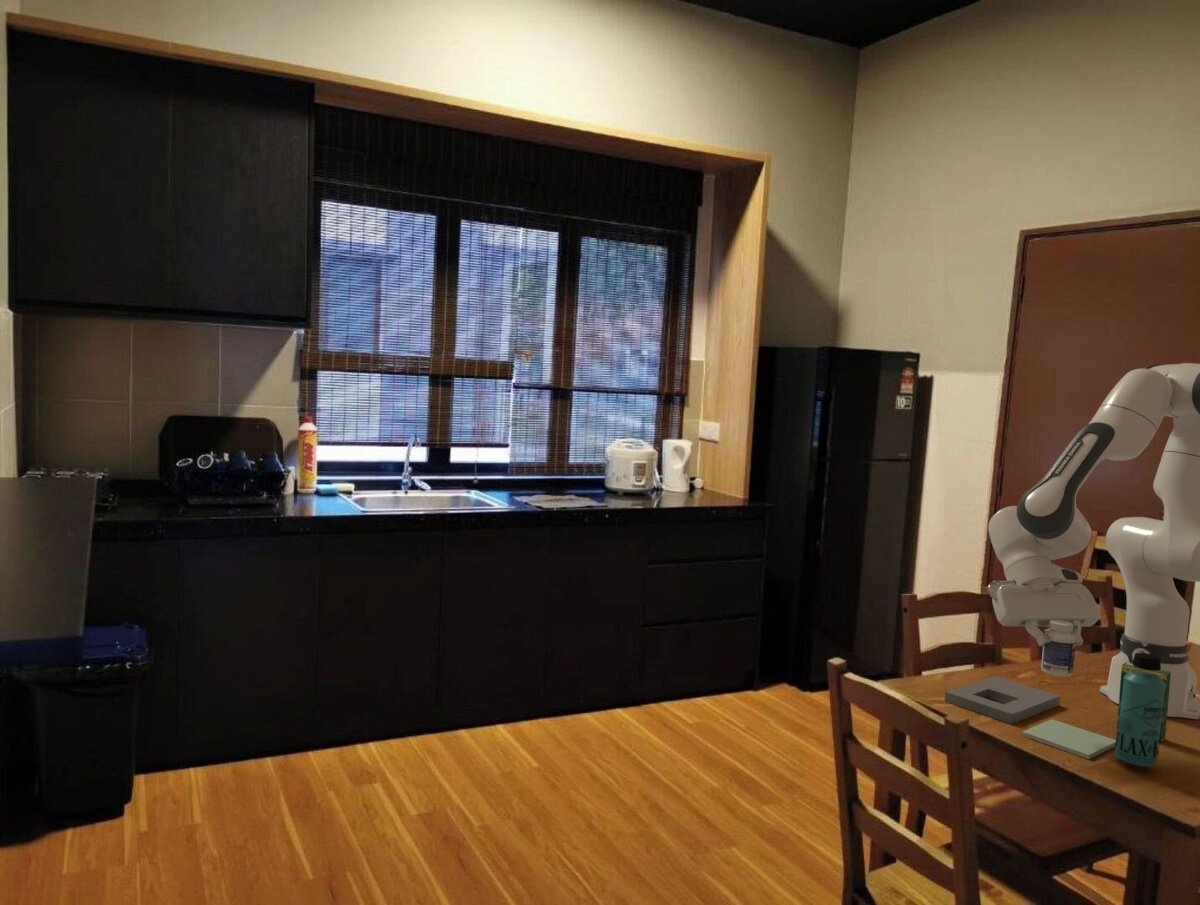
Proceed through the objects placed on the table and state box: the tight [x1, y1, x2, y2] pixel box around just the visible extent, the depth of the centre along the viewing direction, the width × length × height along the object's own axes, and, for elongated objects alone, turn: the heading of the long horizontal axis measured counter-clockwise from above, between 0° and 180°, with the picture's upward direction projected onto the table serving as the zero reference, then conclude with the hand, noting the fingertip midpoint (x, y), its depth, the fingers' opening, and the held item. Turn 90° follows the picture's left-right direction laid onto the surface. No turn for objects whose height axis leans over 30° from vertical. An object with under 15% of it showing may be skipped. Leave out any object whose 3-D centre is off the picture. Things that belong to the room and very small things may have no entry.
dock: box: [944, 675, 1061, 725], centre depth 184 cm, size 20×14×2 cm
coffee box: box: [1116, 662, 1171, 743], centre depth 170 cm, size 8×3×13 cm, turn 43°
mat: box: [1021, 719, 1116, 760], centre depth 166 cm, size 12×12×1 cm
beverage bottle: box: [1114, 653, 1166, 767], centre depth 154 cm, size 6×7×20 cm
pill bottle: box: [1040, 620, 1077, 678], centre depth 168 cm, size 5×5×10 cm
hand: (1061, 644), depth 167 cm, fingers closed on pill bottle, 5 cm apart
